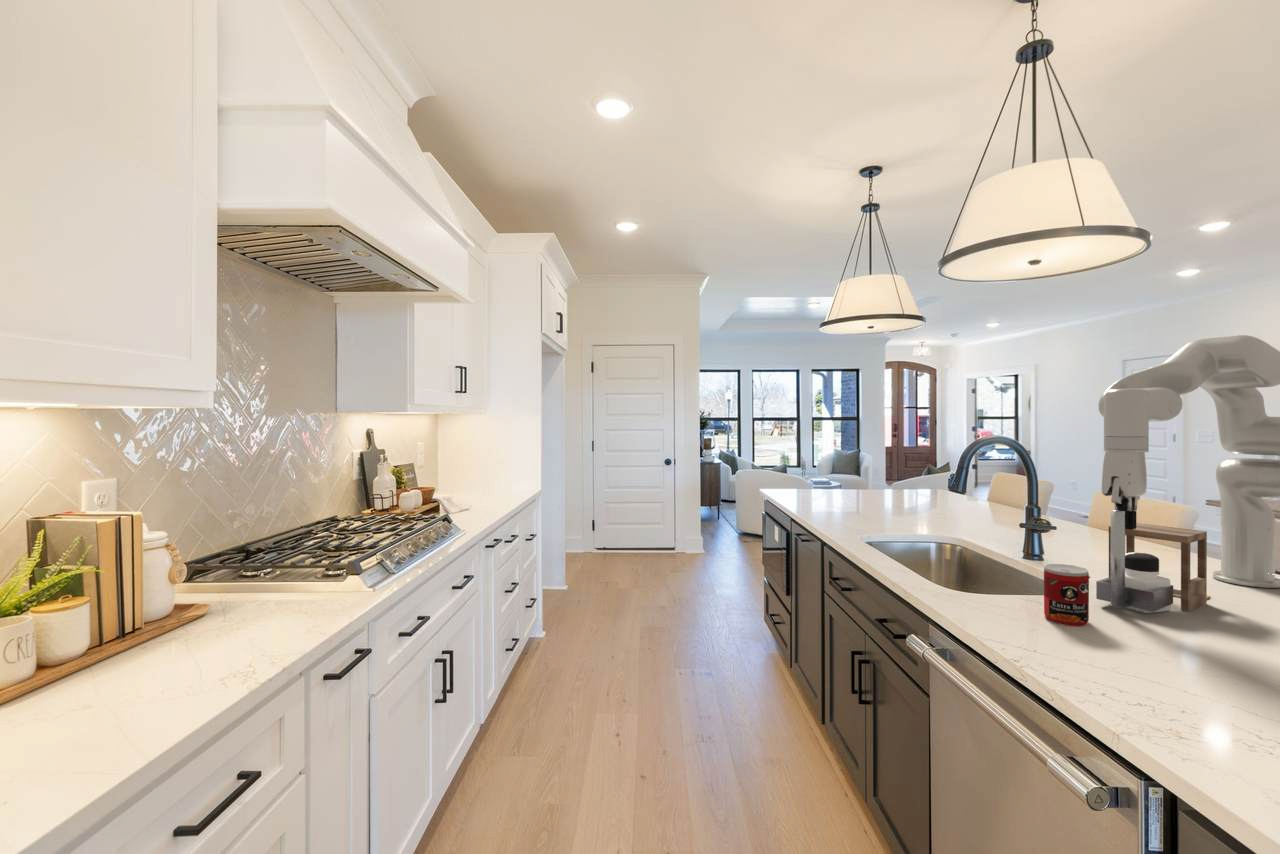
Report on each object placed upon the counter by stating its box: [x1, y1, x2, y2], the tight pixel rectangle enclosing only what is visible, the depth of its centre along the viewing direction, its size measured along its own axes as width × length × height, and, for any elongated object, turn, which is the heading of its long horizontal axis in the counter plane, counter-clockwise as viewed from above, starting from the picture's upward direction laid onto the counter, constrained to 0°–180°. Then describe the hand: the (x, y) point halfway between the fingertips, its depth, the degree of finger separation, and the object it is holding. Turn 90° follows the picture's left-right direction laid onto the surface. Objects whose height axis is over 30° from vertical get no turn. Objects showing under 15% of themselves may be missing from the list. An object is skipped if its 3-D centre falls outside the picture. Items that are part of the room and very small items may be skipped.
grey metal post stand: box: [1095, 509, 1174, 612], centre depth 128 cm, size 14×10×21 cm
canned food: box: [1043, 563, 1090, 627], centre depth 122 cm, size 8×8×11 cm
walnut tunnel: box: [1108, 522, 1208, 613], centre depth 134 cm, size 11×14×16 cm
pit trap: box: [1173, 588, 1212, 600], centre depth 139 cm, size 6×12×1 cm, turn 30°
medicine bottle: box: [1125, 551, 1171, 614], centre depth 129 cm, size 7×7×12 cm
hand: (1125, 528), depth 126 cm, fingers closed
